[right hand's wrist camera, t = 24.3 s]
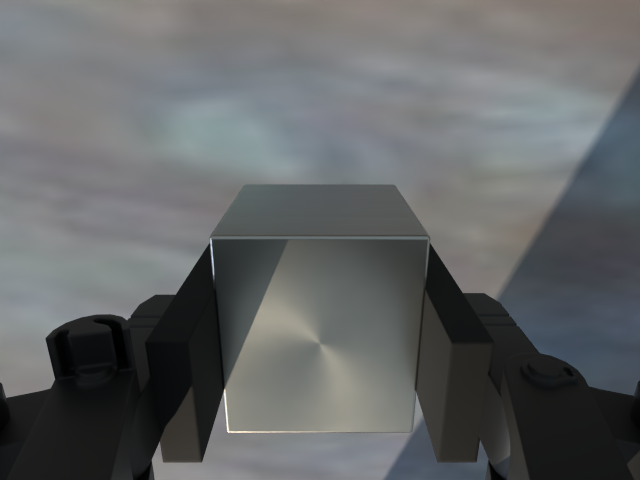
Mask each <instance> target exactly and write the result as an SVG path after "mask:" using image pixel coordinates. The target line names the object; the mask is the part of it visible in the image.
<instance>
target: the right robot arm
mask: <svg viewBox="0 0 640 480" xmlns="http://www.w3.org/2000/svg"><path fill="white" fill-rule="evenodd" d="M46 343H47V347H48V351H49V355H50V359H51V363H52V367H53V372H54V376H55V381H54V383H53V385H52V387H51V389H47V390H44V391H39V392H34V393H29V394H24V395H19V396H14V397H9V398H6V396H5V393H4V389H3V386H2V384H1V383H0V480H154V472H153V466H152V457H153V455H154V453H155V451H156V448H157V446H158V444H159V441H160V445H161V451H162V458H163V462H202V460H203V457H204V454H205V451H206V447H207V444H208V441H209V437H210V434H211V431H212V428H213V424H214V421H215V418H216V414H217V411H218V408H219V404H220V401H221V398H222V395H223V381H222V370H221V359H220V348H219V337H218V325H217V314H216V303H215V292H214V285H213V274H212V262H211V251H210V243H209V245H208V246H207V248H206V249H205V251H204V252H203V254H202V256H201V257H200V259H199V260H198V262H197V263H196V265H195V266H194V268H193V269H192V271H191V272H190V274H189V275H188V277H187V278H186V280H185V282H184V283H183V285H182V286H181V288H180V289H179V291H178V292H177V294H176V295H155V296H153V297H151V298H150V299H148V300H146V301H145V302H143V303H142V304H140V305H139V306H138V308H137V309H136V310H135V311H134V313H133V314H132V315H131V318H129V319H128V320H126V319H124V318H123V317H120V316H116V315H111V314H109V315H93V316H87V317H82V318H79V319H76V320H73V321H70V322H68V323H65V324H63V325H62V326H60V327H58V328H56V329H55V330H53V331H52V332H51V333H50V334H49V335H48V336H47V337H46ZM416 392H417V396H418V399H419V402H420V406H421V409H422V412H423V415H424V419H425V422H426V425H427V429H428V432H429V435H430V438H431V442H432V445H433V448H434V452H435V455H436V458H437V462H477V455H478V449H479V442H480V440H481V442H482V444H483V447H484V449H485V451H486V454H487V456H488V458H489V460H488V466H487V472H486V478H485V480H640V381H639V382H638V384H637V388H636V391H635V395H634V396H631V395H626V394H621V393H616V392H611V391H606V390H601V389H596V388H593V387H589V386H588V385H587V383H586V381H585V379H584V377H583V376H582V375H581V374H580V373H579V371H578V370H577V369H575V368H574V367H572V366H571V365H569V364H568V363H566V362H565V361H562V360H560V359H557V358H555V357H553V356H549V355H545V354H540V353H539V352H538V351H537V349H536V348H535V347H534V345H533V344H532V343H531V342H530V340H529V339H528V338H527V337H526V335H525V334H524V333H523V331H522V330H521V329H520V328H519V326H517V324H516V323H515V321H514V320H513V319H512V318H511V317H509V314H508V312H507V311H506V310H505V309H504V307H503V306H502V305H501V304H500V303H499V302H498V301H496V300H494V299H493V298H491V297H489V296H488V295H486V294H485V293H462V291H461V290H460V288H459V287H458V285H457V284H456V282H455V281H454V279H453V277H452V276H451V274H450V273H449V271H448V270H447V268H446V267H445V265H444V264H443V262H442V261H441V259H440V258H439V256H438V255H437V253H436V251H435V250H434V248H433V247H432V245H431V244H430V247H429V258H428V269H427V280H426V288H425V298H424V309H423V320H422V331H421V342H420V353H419V365H418V376H417V387H416Z"/></svg>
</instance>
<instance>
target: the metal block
mask: <svg viewBox="0 0 640 480" xmlns="http://www.w3.org/2000/svg"><path fill="white" fill-rule="evenodd" d="M209 240H210V251H211V262H212V274H213V285H214V292H215V303H216V314H217V325H218V337H219V348H220V359H221V370H222V381H223V397H224V409H225V420H226V430H227V432H229V433H410V432H412V430H413V423H414V412H415V401H416V387H417V376H418V365H419V353H420V342H421V331H422V320H423V309H424V298H425V288H426V280H427V269H428V258H429V247H430V237H429V235H428V233H427V232H426V230H425V229H424V227H423V226H422V224H421V223H420V221H419V220H418V219H417V217H416V216H415V214H414V213H413V211H412V210H411V208H410V207H409V205H408V204H407V202H406V201H405V199H404V198H403V196H402V195H401V193H400V192H399V190H398V189H397V187H396V186H395V185H244V186H243V188H242V189H241V191H240V192H239V194H238V195H237V197H236V198H235V200H234V201H233V203H232V204H231V206H230V207H229V209H228V210H227V212H226V213H225V215H224V216H223V218H222V219H221V221H220V222H219V224H218V225H217V227H216V228H215V230H214V231H213V233H212V234H211V236H210V238H209Z"/></svg>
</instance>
